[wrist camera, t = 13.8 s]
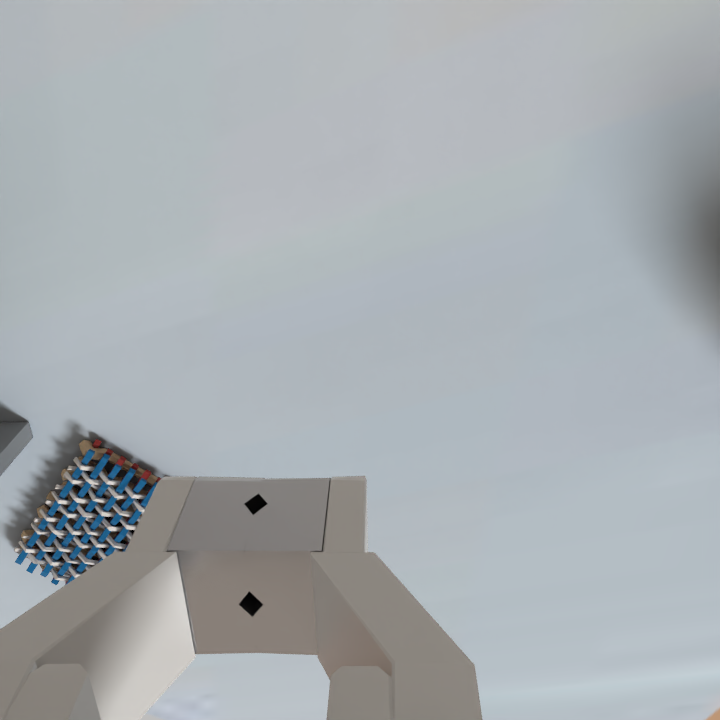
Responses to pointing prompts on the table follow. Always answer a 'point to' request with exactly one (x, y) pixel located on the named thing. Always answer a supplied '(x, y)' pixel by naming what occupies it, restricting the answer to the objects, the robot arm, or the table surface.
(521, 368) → the table surface
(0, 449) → the box
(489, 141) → the table surface
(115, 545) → the woven mat
